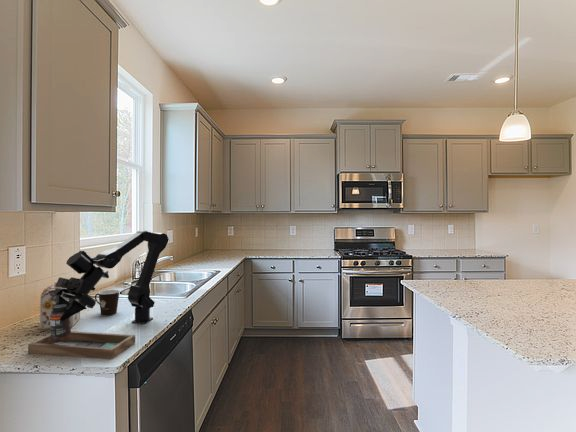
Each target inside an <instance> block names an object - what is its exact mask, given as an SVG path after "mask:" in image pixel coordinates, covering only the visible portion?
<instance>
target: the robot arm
mask: <svg viewBox="0 0 576 432" xmlns="http://www.w3.org/2000/svg"><path fill="white" fill-rule="evenodd" d="M143 242H147V249H148V252H147V255H146V257H145V260H144V263H143V265H142V268H141V271H140V274H139V276H138V281H137V283H135V284H134V285H133V284H131V285H130V287H129V290H128V293H127V300H128V302H129V303H130V305H131V307H133V308H134V307H135V308H134V319H133V320H131V323H132V324H135V323H136V324H147V323H149V322H150V321H151V320H154V317H151V314H150V313H151V308H153V307H155V302H156V301H154V300H153V299H152V298H151V297H150V296H151V288H150V284H151V281H152V278H153V275H154V272H155V269H156V266H157V263H158V260H159V258H160V254H161V253H162V252H163V251H164V250H165V249H166V247H167V245H168V243H169V236H168V235H167V234H166V233H163V232H151V231H147V230H137V231H136V232H135V233H134V234H133V235H131V236H130V237H128V238H127V239H125V240H124V241H122V242H121V243H120V244H118V245H117V246H115V247H113V248H109V249H106V250H104V251H101V252H99V253H98V254H97V255H96V256H94V257H91V256H90V255H88V254H87V252H86V251H85V250H79V251H78V252H76V253H73V255H70V256H69V258H68V259H67V260H66V265H67V266H69V268H71V269H72V270H73V271H75V272H76V273H77V274H79V275H81V274H82V276H80V278H77V277H70V278H63V277H58V279H57V280H56V281H57V283H56V285H55V286H58V287H62V288H56V289H55V290H54V291H53V293H54V294H55V296H56V298H57V302H56V305H61V304H65V305H67V309H66V311H65V312H64V313H63V315H62V316H61V318H60V320H61V321H64V320H65V319H67V318H69V317H71V316H72V315H74V314H76V313H78V312H80V313H81V312H82V311H84V310H87V308H89V309H94V307H95V306H96V305H97V302H96V300H95V298H93V297H92V296H90V295H89V294H90V292H91V291H93V292H94V291H95V290H96V288H95V286H96V285H97V284H98V283H99V282H100V280H101V279H102V278H104V279H109V277H110V276H109V269H113V268H115V267H116V266H117V265H118V264H119V263H121V261H122V258H123V257H124V256H126V255H127V254H128V253H129V252H131V251H132V250H133V249H134V248H136V247H138V246H139V245H140V244H142V243H143ZM102 268H103V269H102ZM104 269H108V270H104ZM65 288H66V289H65ZM69 302H70V303H69ZM56 305H55V306H56ZM52 313H53V311H52Z"/></svg>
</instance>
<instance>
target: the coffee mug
mask: <svg viewBox="0 0 576 432" xmlns="http://www.w3.org/2000/svg"><path fill="white" fill-rule="evenodd" d="M97 296H98V299H97ZM119 296H120V290H119V289H107V290H101V291H99V292H98V293H96V294H95V295H94V300H96V304H98V305H99V308H100V309H99V310H100V315H101V316H105V317H106V316H113V315H116V314H117V312H118V305H119Z"/></svg>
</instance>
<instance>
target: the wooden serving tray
mask: <svg viewBox="0 0 576 432" xmlns="http://www.w3.org/2000/svg"><path fill="white" fill-rule="evenodd" d="M58 341H59V340H56V341H54V340H51V339H50V334H48V335H46V336H44V337H41V338H39V339H37V340H35V341H31V342H30V343H28V344H27V354H35V355H49V356H50V355H51V356H61V357H64V356H65V357H74V358H75V357H77V358H78V357H79V358H88V359H89V358H92V359H102V360H103V359H105V360H113V359H114V358H116V357H117V356H119V355H120V354H122V353H123V352H124V350H125V351H126V350H128V349H129V348H131V347H132V346H133V344H134V343H135V344H136V334H125V333H123V334H122V333H121V334H120V333H103V332H88V331H76V330H75V331H73V330H71V335H70V337H68V338H66V339H63V340H62V341H70V342H78V343H75V344H74V345H71V344H70V345H69V344H55V343H56V342H58ZM135 344H134V345H135ZM130 346H131V347H130ZM127 348H128V349H127Z"/></svg>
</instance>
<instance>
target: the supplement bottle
mask: <svg viewBox="0 0 576 432" xmlns="http://www.w3.org/2000/svg"><path fill="white" fill-rule="evenodd" d="M66 309H67V305H65V304H61V305H56V306H54V307H53V313H51V314H50V329H49V331H50V333H49V335H50V339H51V340H54V341H56V340H58V341H64V340H63V339H66V338H68V337H70V335H71V331H72V330H71V328H72V327H71V321H70V317H69V318H67V319H65V320H64V321H61V320H60V318H61V316H62V315H63V313H64V312H65V311H66ZM56 342H57V341H56Z"/></svg>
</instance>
